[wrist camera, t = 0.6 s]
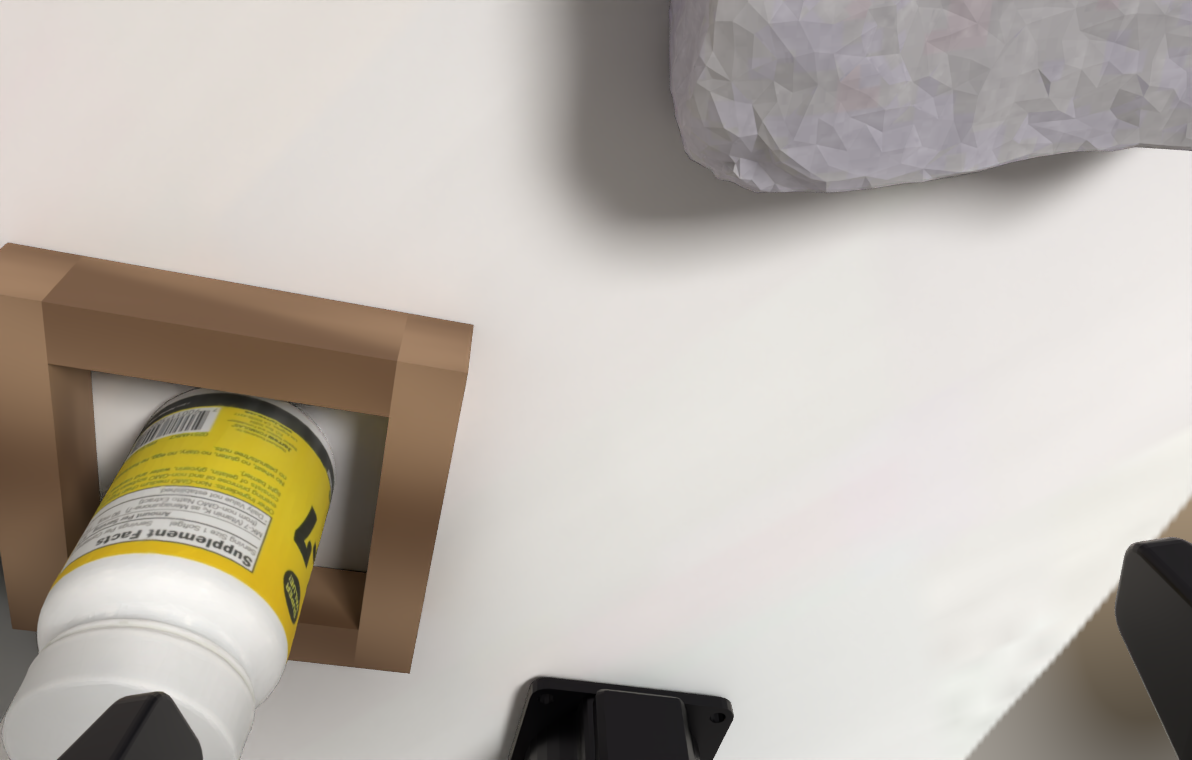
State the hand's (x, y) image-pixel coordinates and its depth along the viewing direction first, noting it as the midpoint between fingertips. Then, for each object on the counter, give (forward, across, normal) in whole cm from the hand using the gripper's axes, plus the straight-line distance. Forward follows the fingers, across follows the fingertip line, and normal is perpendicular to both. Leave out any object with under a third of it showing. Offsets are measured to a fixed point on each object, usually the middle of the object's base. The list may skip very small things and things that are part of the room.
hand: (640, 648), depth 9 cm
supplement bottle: (+13, +10, +6) cm, 18 cm away
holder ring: (+13, +10, +6) cm, 17 cm away
